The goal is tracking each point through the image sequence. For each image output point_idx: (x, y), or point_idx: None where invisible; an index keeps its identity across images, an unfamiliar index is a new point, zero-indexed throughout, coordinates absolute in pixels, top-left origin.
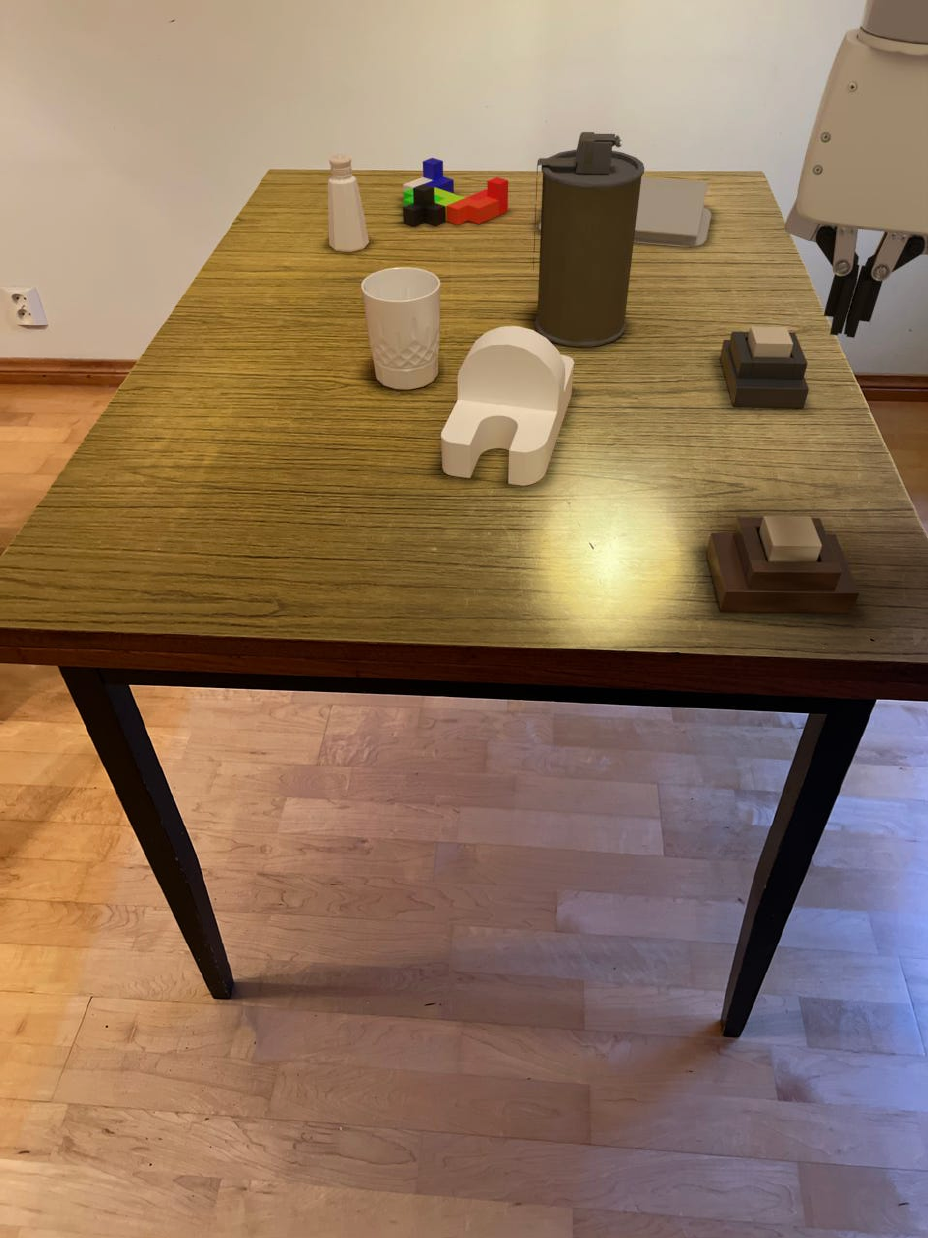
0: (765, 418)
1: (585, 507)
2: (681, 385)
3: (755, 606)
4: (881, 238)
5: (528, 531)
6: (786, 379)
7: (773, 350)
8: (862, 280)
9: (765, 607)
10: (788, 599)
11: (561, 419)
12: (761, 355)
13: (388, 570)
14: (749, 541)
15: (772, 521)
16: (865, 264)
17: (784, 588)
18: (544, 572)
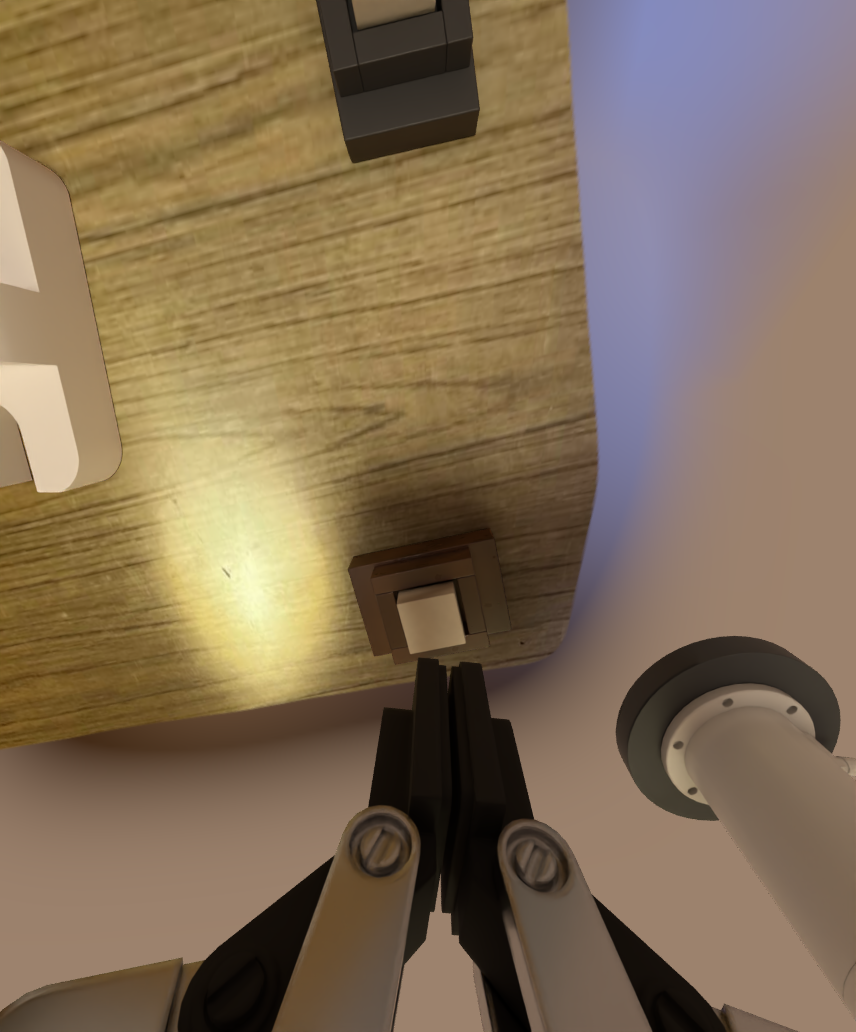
0: (409, 193)
1: (197, 505)
2: (249, 95)
3: None
4: (521, 968)
5: (149, 564)
6: (436, 75)
7: (395, 2)
8: (452, 908)
9: None
10: None
11: (83, 310)
12: (373, 20)
13: (38, 655)
14: (387, 619)
15: (407, 613)
16: (474, 801)
17: None
18: (192, 623)
